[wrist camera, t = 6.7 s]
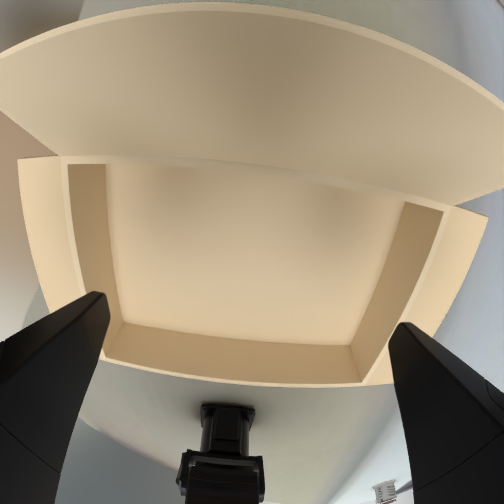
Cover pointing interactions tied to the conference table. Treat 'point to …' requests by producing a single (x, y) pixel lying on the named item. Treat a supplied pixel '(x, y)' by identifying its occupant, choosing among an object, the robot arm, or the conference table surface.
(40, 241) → the carton
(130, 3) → the conference table surface
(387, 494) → the french press
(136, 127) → the kraft flap
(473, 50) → the conference table surface
